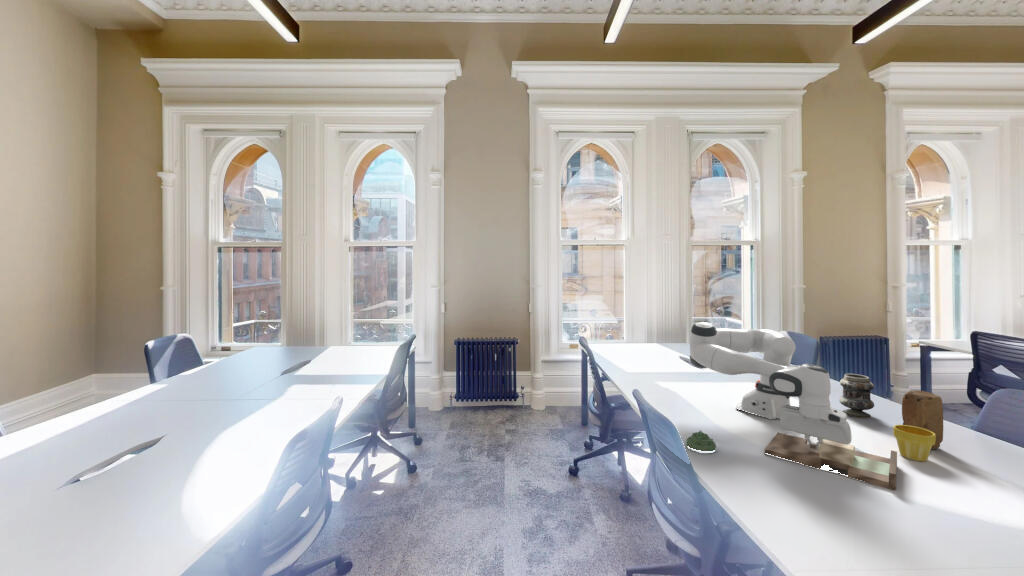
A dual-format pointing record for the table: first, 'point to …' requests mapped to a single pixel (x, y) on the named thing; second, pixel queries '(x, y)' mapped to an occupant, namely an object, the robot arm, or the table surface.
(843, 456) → the maple block
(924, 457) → the plant pot
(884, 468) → the box
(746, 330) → the robot arm
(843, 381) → the apothecary jar
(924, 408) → the block
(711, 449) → the decorative artifact
